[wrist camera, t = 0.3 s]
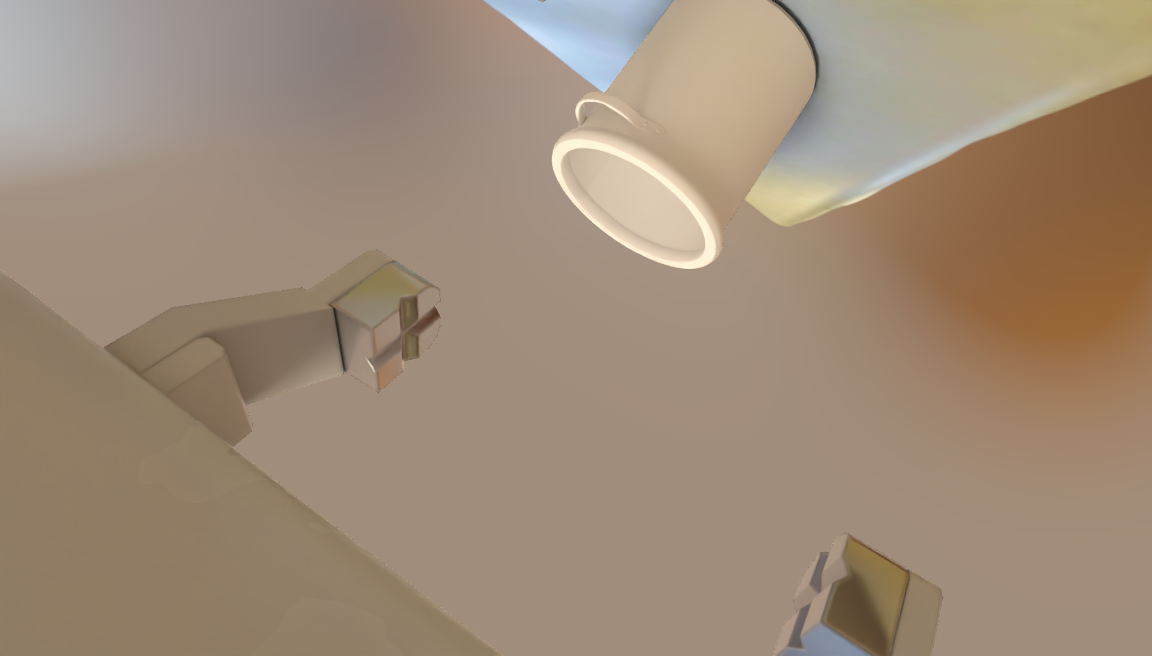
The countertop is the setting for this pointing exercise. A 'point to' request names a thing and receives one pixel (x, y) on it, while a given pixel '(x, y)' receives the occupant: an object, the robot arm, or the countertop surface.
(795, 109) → the bucket
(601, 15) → the countertop surface
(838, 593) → the robot arm
